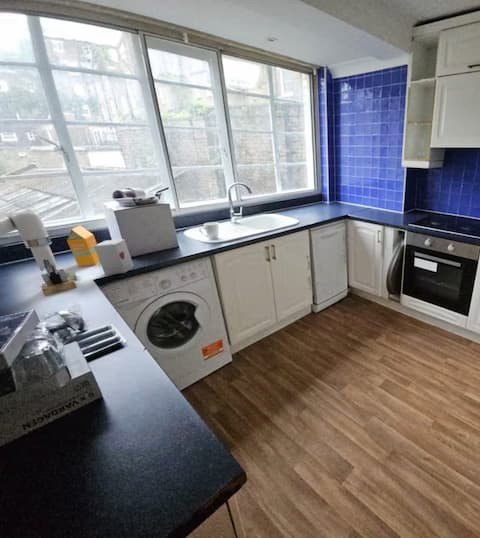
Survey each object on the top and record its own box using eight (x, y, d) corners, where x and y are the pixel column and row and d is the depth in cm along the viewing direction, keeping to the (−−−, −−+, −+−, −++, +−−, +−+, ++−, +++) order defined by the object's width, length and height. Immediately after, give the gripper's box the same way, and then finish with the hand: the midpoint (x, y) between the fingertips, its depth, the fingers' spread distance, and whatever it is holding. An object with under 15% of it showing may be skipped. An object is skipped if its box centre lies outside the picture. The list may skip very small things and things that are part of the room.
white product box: (124, 273, 143) (113, 244, 137) (104, 275, 142) (92, 245, 136) (134, 266, 151) (124, 238, 145) (115, 268, 150) (104, 240, 144)
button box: (48, 287, 131) (44, 279, 130) (47, 282, 136) (44, 274, 134) (77, 280, 138) (74, 272, 136) (76, 275, 142) (73, 268, 141)
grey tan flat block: (46, 285, 125) (41, 274, 123) (46, 284, 126) (41, 273, 124) (68, 280, 130) (63, 269, 128) (68, 279, 131) (63, 268, 129)
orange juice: (103, 259, 163) (89, 224, 155) (96, 265, 155) (80, 228, 147) (86, 261, 161) (71, 225, 153) (78, 267, 153) (61, 230, 145)
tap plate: (43, 297, 122) (39, 290, 121) (43, 289, 129) (39, 283, 128) (78, 288, 129) (75, 281, 128) (76, 281, 136) (73, 274, 135)
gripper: (25, 240, 123) (45, 279, 131) (23, 248, 113) (45, 290, 120) (50, 236, 128) (68, 274, 135) (50, 243, 118) (70, 284, 125)
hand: (57, 281), depth 128 cm, fingers closed on grey tan flat block
